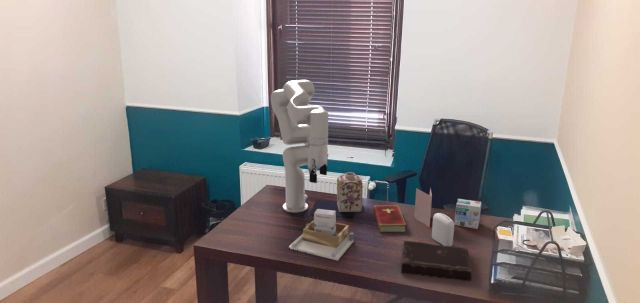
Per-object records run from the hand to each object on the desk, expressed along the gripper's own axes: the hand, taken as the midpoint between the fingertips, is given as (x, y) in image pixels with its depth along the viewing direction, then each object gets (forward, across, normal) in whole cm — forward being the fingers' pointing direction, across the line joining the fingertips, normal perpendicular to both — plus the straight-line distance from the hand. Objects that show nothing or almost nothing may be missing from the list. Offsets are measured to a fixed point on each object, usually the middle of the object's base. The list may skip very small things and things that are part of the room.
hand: (318, 178), depth 191 cm
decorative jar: (+27, -32, +2) cm, 42 cm away
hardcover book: (+27, -25, +25) cm, 44 cm away
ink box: (+24, +5, +6) cm, 25 cm away
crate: (+25, +4, +6) cm, 26 cm away
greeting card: (+26, -32, +39) cm, 57 cm away
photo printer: (+25, -16, +51) cm, 59 cm away
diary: (+25, +4, +52) cm, 58 cm away
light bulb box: (+26, -38, +58) cm, 74 cm away
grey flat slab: (+26, +9, +6) cm, 28 cm away
